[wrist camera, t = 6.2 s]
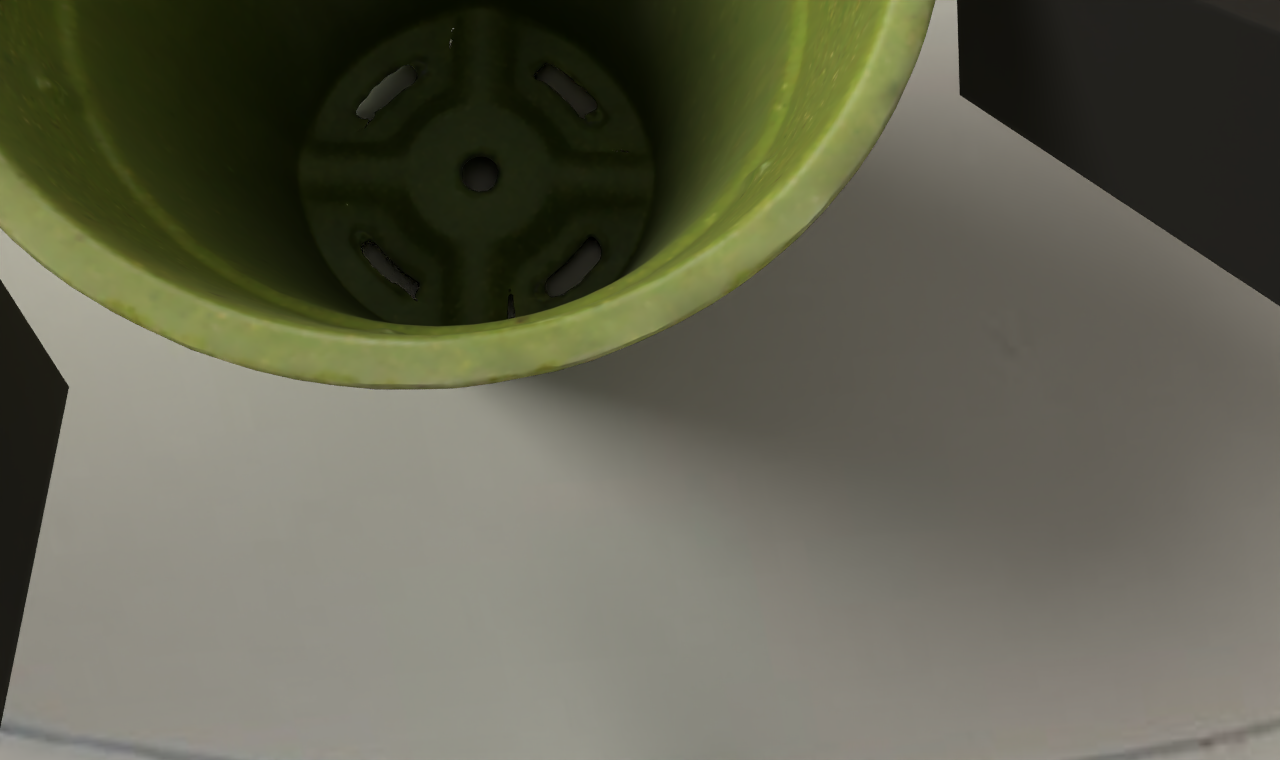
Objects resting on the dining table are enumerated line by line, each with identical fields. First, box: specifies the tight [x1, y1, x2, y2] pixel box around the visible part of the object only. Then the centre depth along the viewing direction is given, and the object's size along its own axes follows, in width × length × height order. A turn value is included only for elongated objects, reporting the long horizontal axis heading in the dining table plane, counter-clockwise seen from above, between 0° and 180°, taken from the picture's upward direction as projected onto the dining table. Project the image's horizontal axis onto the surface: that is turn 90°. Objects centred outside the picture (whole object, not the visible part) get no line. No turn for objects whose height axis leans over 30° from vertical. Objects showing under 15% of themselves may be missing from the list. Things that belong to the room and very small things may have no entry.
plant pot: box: [0, 0, 935, 389], centre depth 18 cm, size 12×12×11 cm
